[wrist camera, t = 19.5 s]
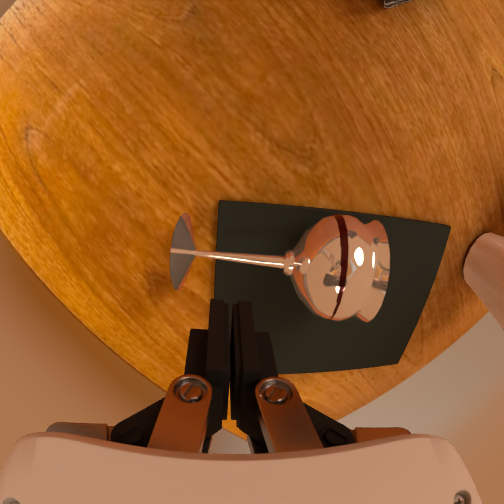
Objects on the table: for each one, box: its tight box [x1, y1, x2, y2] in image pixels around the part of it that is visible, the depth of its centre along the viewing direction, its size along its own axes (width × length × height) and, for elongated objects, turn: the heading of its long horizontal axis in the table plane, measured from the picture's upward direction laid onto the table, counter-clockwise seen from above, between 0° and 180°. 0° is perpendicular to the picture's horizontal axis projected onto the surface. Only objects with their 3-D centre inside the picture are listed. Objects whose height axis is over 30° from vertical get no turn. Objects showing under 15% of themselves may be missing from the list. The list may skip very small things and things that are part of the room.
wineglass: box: [170, 213, 390, 322], centre depth 18 cm, size 7×7×12 cm
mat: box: [214, 200, 451, 374], centre depth 24 cm, size 20×16×1 cm
